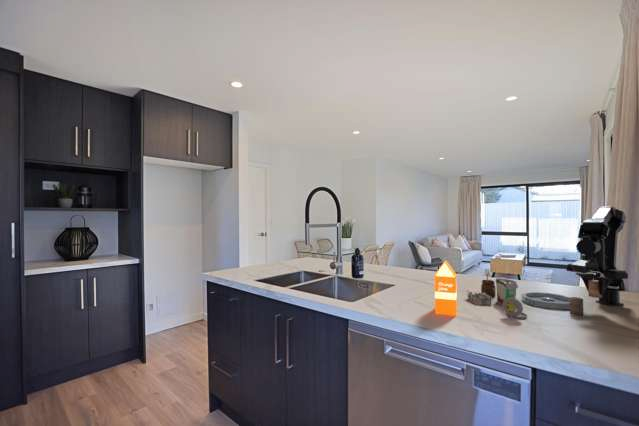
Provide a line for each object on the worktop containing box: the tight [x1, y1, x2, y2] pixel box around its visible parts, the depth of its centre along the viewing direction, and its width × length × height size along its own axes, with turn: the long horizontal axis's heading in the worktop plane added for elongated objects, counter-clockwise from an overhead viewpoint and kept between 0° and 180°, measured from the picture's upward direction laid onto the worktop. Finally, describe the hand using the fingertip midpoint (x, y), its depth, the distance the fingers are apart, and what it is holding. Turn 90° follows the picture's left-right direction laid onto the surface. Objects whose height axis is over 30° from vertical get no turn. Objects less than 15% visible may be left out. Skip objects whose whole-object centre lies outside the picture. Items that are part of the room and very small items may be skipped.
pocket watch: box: [502, 291, 528, 319], centre depth 115 cm, size 8×8×10 cm
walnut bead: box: [569, 296, 584, 317], centre depth 118 cm, size 4×4×6 cm
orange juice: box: [434, 259, 458, 317], centre depth 123 cm, size 8×9×20 cm
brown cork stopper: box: [587, 279, 602, 299], centre depth 120 cm, size 4×4×6 cm
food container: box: [495, 278, 519, 308], centre depth 131 cm, size 12×6×10 cm, turn 168°
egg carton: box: [466, 290, 493, 306], centre depth 136 cm, size 11×8×4 cm
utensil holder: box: [480, 268, 497, 298], centre depth 146 cm, size 6×6×12 cm
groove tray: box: [521, 291, 571, 310], centre depth 133 cm, size 18×18×2 cm
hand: (595, 293), depth 120 cm, fingers closed on brown cork stopper, 4 cm apart
